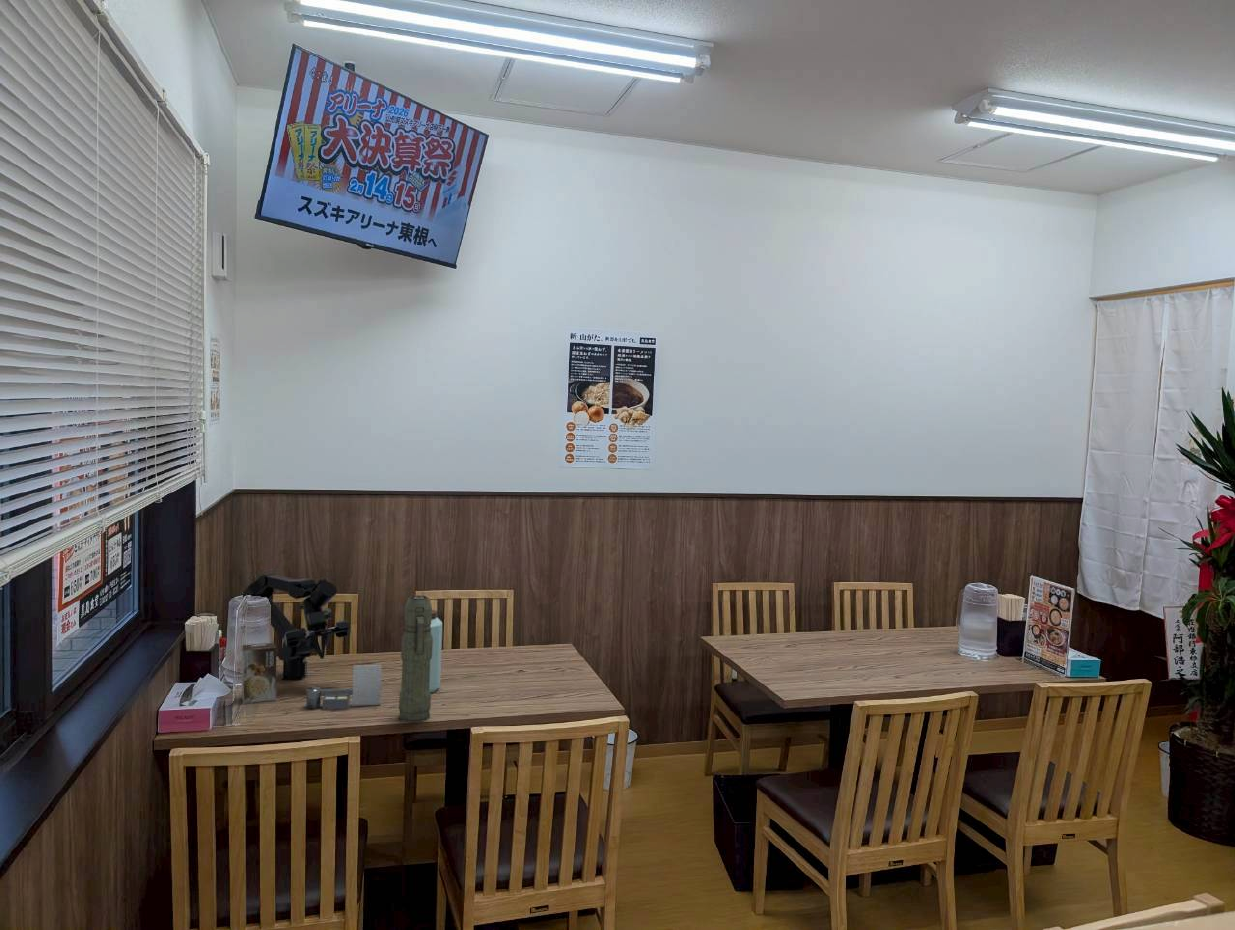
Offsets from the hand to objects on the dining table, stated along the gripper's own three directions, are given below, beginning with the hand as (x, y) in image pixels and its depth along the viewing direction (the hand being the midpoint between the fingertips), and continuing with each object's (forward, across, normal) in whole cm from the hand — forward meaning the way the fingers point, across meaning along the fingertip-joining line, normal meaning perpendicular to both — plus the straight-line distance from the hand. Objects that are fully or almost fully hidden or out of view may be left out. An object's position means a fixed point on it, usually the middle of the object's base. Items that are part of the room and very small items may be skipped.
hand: (322, 658), depth 255 cm
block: (+17, +1, -1) cm, 17 cm away
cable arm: (+17, +3, 0) cm, 17 cm away
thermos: (+29, +20, -10) cm, 37 cm away
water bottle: (+14, +29, +7) cm, 33 cm away
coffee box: (+5, -19, +8) cm, 21 cm away
